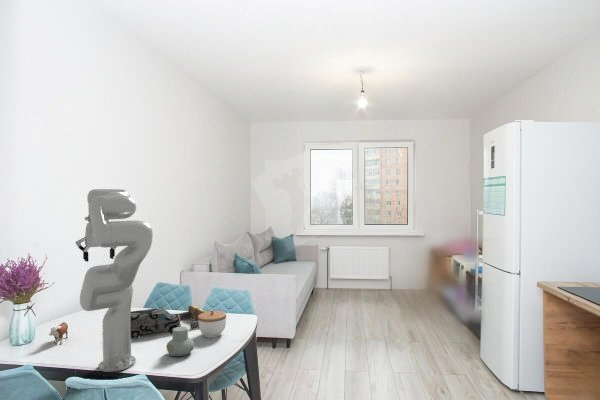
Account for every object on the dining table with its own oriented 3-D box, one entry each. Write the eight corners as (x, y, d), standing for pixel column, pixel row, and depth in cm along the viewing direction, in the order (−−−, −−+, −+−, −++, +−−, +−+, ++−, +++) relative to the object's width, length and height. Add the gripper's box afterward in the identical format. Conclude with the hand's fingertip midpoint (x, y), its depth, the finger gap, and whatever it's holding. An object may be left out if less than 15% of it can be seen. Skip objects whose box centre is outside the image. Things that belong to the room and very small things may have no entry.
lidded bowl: (212, 328, 182) (211, 305, 182) (232, 332, 176) (232, 309, 176) (192, 336, 171) (191, 312, 171) (212, 342, 165) (212, 316, 165)
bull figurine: (47, 348, 160) (47, 329, 160) (60, 337, 173) (60, 319, 173) (58, 347, 161) (58, 328, 161) (71, 336, 174) (71, 318, 174)
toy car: (181, 332, 178) (181, 310, 178) (123, 339, 169) (122, 317, 169) (179, 325, 188) (179, 304, 188) (124, 332, 179) (124, 310, 179)
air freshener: (164, 352, 154) (164, 328, 154) (183, 347, 160) (183, 323, 160) (177, 360, 146) (176, 334, 146) (196, 354, 152) (196, 329, 152)
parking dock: (209, 325, 187) (209, 312, 187) (192, 329, 181) (191, 316, 181) (192, 316, 202) (191, 304, 201) (175, 320, 196) (175, 307, 196)
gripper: (77, 220, 152) (78, 263, 152) (123, 218, 164) (123, 258, 164) (73, 220, 158) (74, 261, 158) (118, 218, 169) (118, 256, 169)
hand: (99, 259), depth 161 cm, fingers open, 9 cm apart
